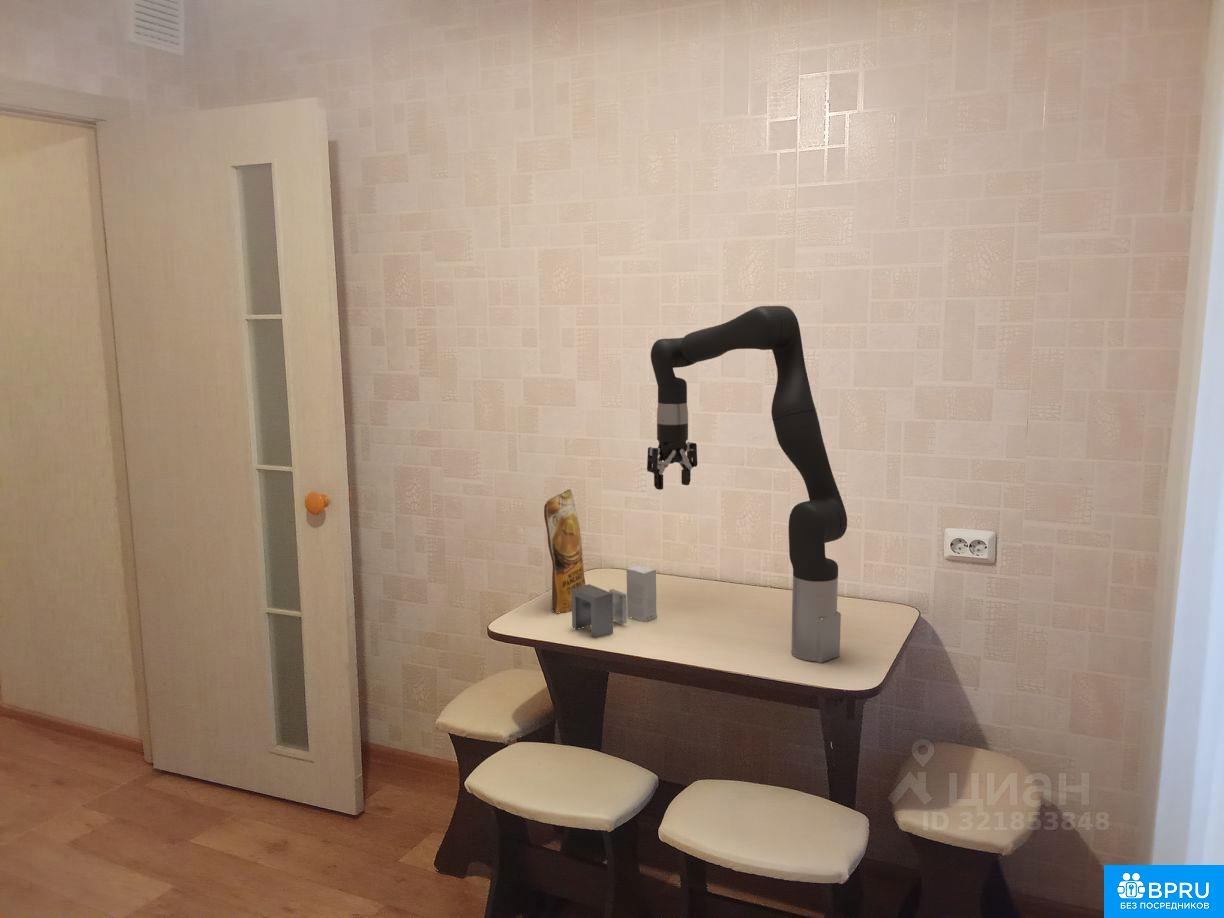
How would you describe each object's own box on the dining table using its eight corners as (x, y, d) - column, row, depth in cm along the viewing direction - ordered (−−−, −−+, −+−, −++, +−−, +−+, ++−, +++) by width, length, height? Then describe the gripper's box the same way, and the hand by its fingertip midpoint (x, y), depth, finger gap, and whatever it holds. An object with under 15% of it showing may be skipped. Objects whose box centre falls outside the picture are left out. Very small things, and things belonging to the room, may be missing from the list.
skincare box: (657, 617, 219) (656, 569, 217) (645, 622, 215) (645, 573, 213) (638, 612, 223) (637, 564, 221) (626, 616, 220) (625, 568, 218)
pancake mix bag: (537, 614, 222) (534, 501, 218) (572, 591, 239) (569, 486, 235) (562, 617, 219) (559, 503, 215) (595, 594, 237) (593, 488, 232)
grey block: (627, 622, 213) (627, 593, 212) (607, 628, 210) (606, 599, 209) (602, 612, 221) (601, 584, 220) (582, 617, 217) (581, 589, 216)
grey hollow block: (634, 627, 212) (634, 587, 211) (595, 638, 205) (594, 597, 204) (603, 614, 222) (603, 576, 220) (564, 624, 215) (564, 585, 213)
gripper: (660, 425, 215) (660, 493, 218) (704, 420, 224) (704, 485, 227) (639, 422, 221) (640, 488, 224) (684, 417, 230) (684, 481, 233)
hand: (672, 487), depth 225 cm, fingers open, 8 cm apart
